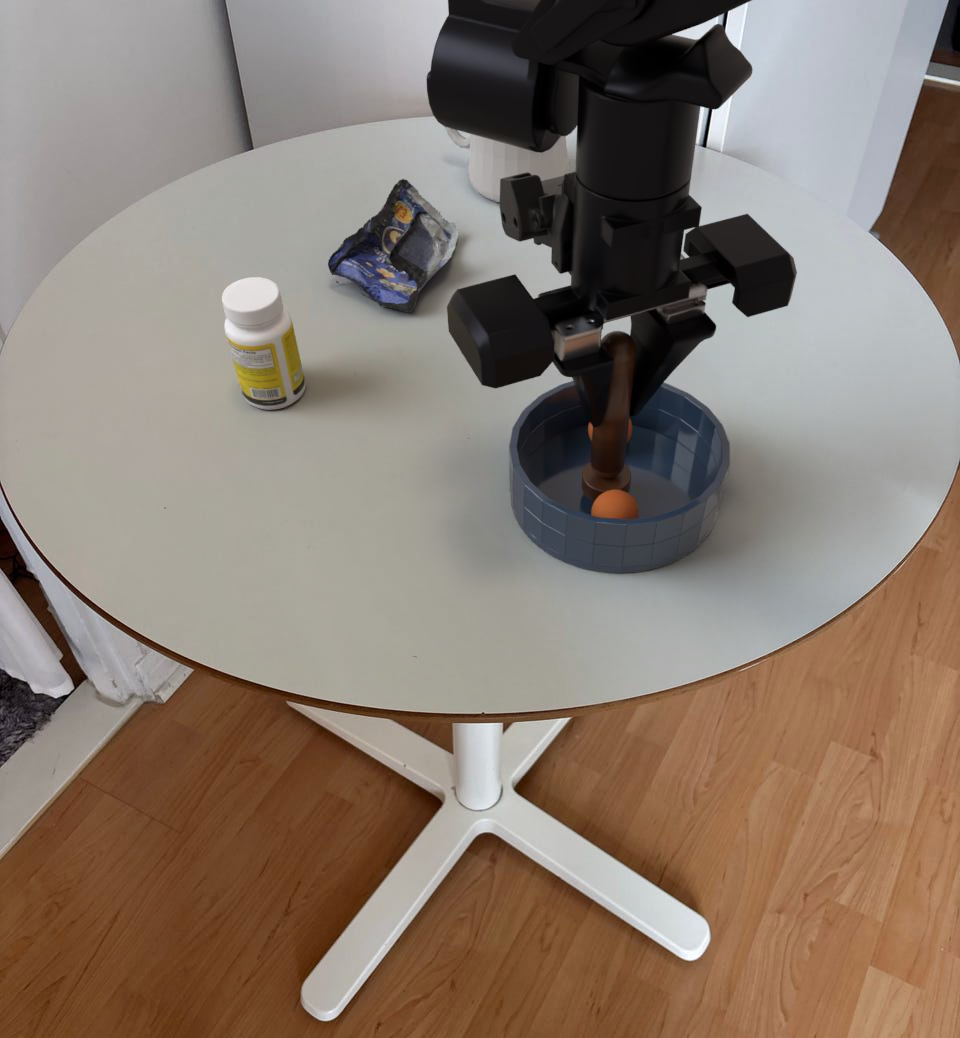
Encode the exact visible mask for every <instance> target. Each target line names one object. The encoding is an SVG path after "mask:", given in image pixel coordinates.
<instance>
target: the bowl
mask: <svg viewBox="0 0 960 1038" xmlns="http://www.w3.org/2000/svg"><path fill="white" fill-rule="evenodd" d="M629 418H630V420H631V423H632V435H631V437H630V440H629V441H628V443H627V446H626V456H625V464H626V465H627V467H628V468H629V470H630V472H631V483H630V490H629V493H628V494H630V495H631V496H632V497H633V498H634V500H635V501H636V503H637V506H638V511H639V515H638V518H636V519H615V518H603V517H596V516H592V515H591V510H592V506H593V504H594V501H592V500H590V499H589V498H587V497H586V496H585V494H584V493H583V491H582V487H581V484H582V471H583V469H584V467H585V466H586V465H587V464H588V463H589V462H591V446H592V442H591V440H590V437H589V434H588V426H589V420H588V418H587V416H586V414H585V411H584V408H583V405H582V403H581V400H580V397H579V395H578V392H577V389H576V387H575V384H574V381H573V380H571V381H568V382H564V383H561V384H559V385H557V386H555V387H553V388H551V389H549V390H547V391H545V392H543V393H541V394H540V395H539V396H537V397H536V398H535V399H534V400H533V401H531V402H530V404H528V405H527V406H526V407H525V408H524V409H523V410H522V411H521V413H520V415H519V417H518V418H517V419H516V422H515V423H514V424H513V426H512V430H511V435H510V438H509V439H510V441H509V444H508V461H509V462H508V463H509V465H508V467H509V469H508V470H509V473H508V475H509V480H508V481H509V494H510V504H511V508H512V509H511V510H512V513H513V516H514V518H515V521H516V522H517V524H518V526H519V527H520V528H521V530H522V531H523V533H524V534H525V536H527V537H528V538H529V540H530V541H531V542H532V543H533V544H535V545H536V546H537V547H538V548H539V549H540V550H542V551H543V552H545V553H546V554H548V555H550V556H551V557H553V558H555V559H557V560H559V561H561V562H562V563H563V562H564V563H566V564H568V565H571V566H574V567H576V568H581V569H584V570H588V571H594V572H601V573H609V574H628V573H630V574H631V573H639V572H645V571H646V572H647V571H651V570H656V569H658V568H662V567H664V566H667V565H669V564H672V563H675V562H677V561H679V560H680V559H682V558H685V557H686V556H687V555H689V554H690V553H692V552H693V551H694V550H696V549H697V548H698V547H699V546H700V545H701V544H702V543H703V542H704V541H705V540H706V538H707V537H708V536H709V534H710V533H711V531H712V529H713V528H714V526H715V524H716V522H717V518H718V515H719V512H720V509H721V505H722V501H723V497H724V492H725V488H726V482H727V479H728V473H729V470H730V465H731V443H730V441H729V438H728V435H727V432H726V430H725V428H724V425H723V424H722V422H721V421H720V419H718V417H717V416H716V415H715V414H714V412H713V411H712V410H711V409H710V407H708V406H707V405H706V404H704V403H703V402H701V400H699V399H697V398H696V397H695V396H693V395H692V394H691V393H689V392H687V391H685V390H682V389H680V388H678V387H676V386H673V385H671V384H669V383H667V382H664V383H663V384H662V385H661V386H660V387H659V389H658V390H657V391H656V392H655V394H654V395H653V396H652V397H651V399H650V400H649V401H648V402H647V404H646V405H645V406H644V407H643V409H642V410H641V411H640V412H639V414H638V415H636V416H633V417H631V416H629Z"/></svg>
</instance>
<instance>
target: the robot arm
mask: <svg viewBox="0 0 960 1038" xmlns="http://www.w3.org/2000/svg"><path fill="white" fill-rule="evenodd" d="M752 1H753V0H447V7H448V9H447V10H448V15H447V17H446V18H445V21H444V22H443V24H442V27H441V28H440V30H439V33H438V35H437V37H436V41H435V44H434V48H433V52H432V56H431V57H432V58H431V62H430V63H431V64H430V71H428V72H427V74H426V94H427V99H428V105H429V107H430V110H431V113H432V115H433V116H434V118H435V120H436V121H437V123H439V124H440V125H442V126H443V127H444V126H445V127H448V128H452V129H455V130H457V131H458V132H462V133H467V134H469V135H471V134H473V135H477V136H480V137H484V138H487V139H491V140H494V141H498V142H502V143H505V144H509V145H512V146H516V147H519V148H523V149H526V150H530V151H534V152H540V153H543V152H545V151H547V150H549V149H550V148H552V147H553V146H554V145H555V143H556V142H557V141H558V140H559V138H560V137H561V136H566V137H567V136H569V135H570V134H572V132H574V131H575V130H576V145H575V146H576V149H575V169H574V171H573V172H568V174H564V176H560V177H556V178H552V179H548V180H544V181H541V179H540V177H539V176H538V175H531V174H530V173H528V172H526V173H522V174H518V175H514V176H510V177H505V178H501V179H500V202H499V213H500V219H501V226H502V231H503V232H504V235H505V236H507V237H509V238H511V239H513V240H515V241H516V242H519V243H521V242H524V241H528V240H532V239H533V243H534V244H535V245H536V246H541V245H543V246H546V247H548V248H551V256H550V257H551V258H550V259H551V264H552V266H553V267H554V268H555V270H556V271H557V273H559V274H561V275H562V274H566V273H569V275H570V285H567V286H562V287H559V288H555V289H552V290H548V291H544V292H540V293H539V294H538V295H537V297H535V298H533V297H532V295H531V293H530V292H529V291H528V290H527V288H526V286H525V285H524V284H523V283H522V281H521V280H520V278H519V277H518V276H517V274H516V273H515V274H511V275H507V276H503V277H500V278H499V277H498V278H495V279H491V280H488V281H487V280H486V281H483V282H480V283H476V284H472V285H469V286H465V287H461V288H457V289H456V290H455V291H454V293H453V294H452V296H451V297H450V300H449V302H448V303H447V305H446V310H447V311H446V313H447V326H448V327H447V328H448V333H449V334H450V336H451V338H452V339H453V341H454V343H455V344H456V346H457V348H458V349H459V351H460V352H461V354H462V356H463V357H464V358H465V361H466V362H467V364H468V366H469V367H470V368H471V371H472V372H473V373H474V375H475V377H476V378H477V380H478V381H479V383H480V384H481V386H484V387H488V388H492V389H499V388H503V387H506V386H510V385H513V384H517V383H520V382H523V381H527V380H531V379H534V378H537V377H538V378H539V377H541V376H542V375H543V374H544V372H545V371H546V370H547V369H548V368H549V366H550V365H551V364H553V365H554V366H555V368H556V369H557V370H558V372H559V373H560V375H562V377H563V376H564V377H566V378H571V379H572V381H574V384H575V387H576V389H577V392H578V395H579V397H580V400H581V403H582V405H583V408H584V411H585V414H586V416H587V418H588V420H589V422H590V423H591V424H592V426H593V427H594V428H596V427H599V426H600V425H601V422H602V419H603V417H604V414H605V410H606V404H607V398H608V393H609V387H610V382H611V377H612V371H613V365H614V359H613V357H612V356H611V355H610V353H609V352H608V351H607V349H606V348H605V347H604V346H603V344H602V343H601V339H602V332H603V329H604V325H605V324H607V323H610V322H614V321H618V320H621V319H625V318H629V317H630V333H629V335H630V336H631V337H632V339H633V340H634V342H635V345H636V357H635V367H634V377H633V386H632V396H631V406H630V416H631V417H633V416H636V415H638V414H639V412H640V411H641V410H642V409H643V407H644V406H645V405H646V404H647V402H648V401H649V400H650V399H651V397H652V396H653V395H654V394H655V392H656V391H657V390H658V389H659V387H660V386H661V385H662V384H663V383H665V381H667V379H668V378H669V376H671V374H672V373H673V372H674V371H675V370H676V369H677V368H678V367H679V366H680V365H681V363H683V362H684V361H685V359H686V358H687V357H689V356H690V354H691V353H692V352H693V351H694V350H695V349H696V348H697V347H698V346H699V344H701V343H702V342H704V341H705V340H708V339H711V338H713V337H714V336H715V335H716V331H717V324H716V323H715V322H714V321H713V319H712V318H711V317H710V316H709V315H708V314H707V313H706V312H705V310H706V304H707V303H706V300H707V295H708V290H712V289H715V288H718V287H723V286H727V285H731V286H732V287H733V288H734V290H733V295H732V300H731V304H732V305H733V306H734V307H735V308H736V309H737V310H738V311H739V312H741V314H743V315H744V316H745V317H746V318H750V317H754V316H757V315H761V314H764V313H768V312H773V311H775V310H778V309H782V308H785V307H788V306H789V304H790V301H791V299H792V296H793V291H794V288H795V284H796V279H797V274H798V271H797V267H796V262H795V259H794V257H793V256H792V255H791V253H790V252H789V251H788V250H786V249H785V247H783V246H782V245H781V244H780V243H779V242H778V241H777V240H776V239H775V238H774V237H773V236H772V235H770V234H769V233H768V231H766V229H764V227H762V226H761V225H760V224H759V223H758V222H757V221H756V220H755V219H754V218H753V217H752V216H751V215H750V214H748V213H745V214H741V215H737V216H733V217H730V218H725V219H721V220H718V221H714V222H709V223H706V224H703V225H700V222H701V215H702V209H703V207H702V206H701V205H700V203H698V202H697V200H696V199H694V198H693V197H692V196H691V195H690V189H691V183H692V174H693V166H694V158H695V151H696V143H697V137H698V130H699V129H698V128H699V121H700V113H701V108H705V109H708V110H718V109H720V108H721V107H722V106H723V105H724V104H725V103H726V102H727V101H728V100H729V99H730V98H731V97H732V96H733V95H734V94H735V93H736V92H737V91H738V90H739V89H740V88H741V87H742V86H743V85H744V84H745V83H746V82H747V81H748V80H749V79H750V78H751V77H752V75H753V70H754V69H753V65H752V64H751V62H750V61H749V60H748V58H747V57H746V56H744V54H743V53H742V51H741V50H740V49H739V48H737V47H736V46H735V45H734V44H733V43H732V42H731V40H730V39H729V36H728V35H727V33H726V30H725V27H724V25H722V24H721V23H716V24H714V25H713V26H712V27H710V29H708V30H707V31H706V32H705V33H704V34H703V35H702V36H700V38H696V39H694V38H689V37H685V36H680V35H676V34H677V33H680V32H683V31H686V30H689V29H691V28H694V27H698V26H699V25H703V24H705V23H706V22H709V21H711V20H713V19H716V18H718V17H720V16H722V15H724V14H726V13H728V12H730V11H733V10H735V9H736V8H739V7H741V6H743V5H745V4H747V3H749V2H752ZM445 127H444V128H445ZM690 229H691V230H690ZM686 230H689V231H688V232H686V233H685V231H686ZM684 235H685V236H684ZM683 242H684V243H683ZM682 248H683V249H682ZM682 250H683V252H684V254H685V255H687V257H685V256H684V255H683V254H682Z"/></svg>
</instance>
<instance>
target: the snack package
mask: <svg viewBox="0 0 960 1038" xmlns="http://www.w3.org/2000/svg"><path fill="white" fill-rule="evenodd" d="M459 233H460V232H459V228H458V226H457V225H456V223H455V222H450V221H448V220H447V219H446V218H445V217H443V215H442V214H441V211H439V210H438V209H437V208H436V207H435V206H433V205H432V204H431V203H430V201H427V200H426V199H425V198H424V197H423V196H422V195H421V194H420V192H419V190H418V189H417V188H416V187H415V186H414V185H412V184H411V182H410V181H408V179H404V178H402V179H399V180H398V181H397V182H396V183H395V184H394V185H393V187H392V189H391V191H390V193H389V194H388V196H387V198H386V201H385V203H384V205H383V206H382V207H381V208H380V211H378V212H377V214H375V215H373V216H372V217H371V218H370V219H368V220H367V221H366V222H365V223H364V224H363V226H362V227H359V229H357V231H356V232H355V233H353V234H351V235H349V236H348V237H346V238H345V239H343V241H342V244H340V246H339V247H338V248H337V249H336V250H335V251H334V252H333V253H332V254H331V256H330V257H329V259H328V262H327V266H328V270H329V272H330V274H331V275H332V276H337V277H340V278H343V279H344V278H345V279H346V280H348V281H350V282H352V283H354V284H355V285H357V286H358V287H359V288H360V289H361V290H363V292H365V293H366V294H367V295H368V296H367V299H369V298H370V300H371V301H374V302H377V304H378V305H379V307H384V308H386V309H387V308H388V309H395V310H399V311H401V312H404V313H408V314H409V313H412V311H413V310H414V308H415V307H416V304H417V302H418V299H419V294H420V292H421V290H422V289H423V288H424V287H425V285H426V284H427V282H428V281H430V280H431V279H432V277H433V276H434V275H435V274H436V273H437V272H438V271H440V269H442V267H444V266H445V265H446V264H447V263H448V261H449V260H450V258H452V257H453V253H454V251H455V249H456V244H457V241H458V238H459ZM335 283H336V284H340V282H339V281H337V280H335ZM360 294H361V295H363V296H364V297H366V295H365V294H363V293H360Z"/></svg>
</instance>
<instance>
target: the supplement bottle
mask: <svg viewBox="0 0 960 1038" xmlns="http://www.w3.org/2000/svg"><path fill="white" fill-rule="evenodd" d="M221 301H222V306H223V311H224V315H225V320H224V334H225V337H226V340H227V344H228V349H229V351H230V355H231V358H232V362H233V365H234V368H235V373H236V375H237V379H238V384H239V386H240V390H241V393H242V396H243V398H244V400H245V401H246V402H247V403H248V404H249V405H251V406H253V407H255V408H257V409H260V410H268V411H269V410H270V411H271V410H280V409H284V408H286V407H289V406H290V405H292V404H294V403H295V402H297V400H299V399H300V398H301V397H302V396H303V394H304V393H305V390H306V378H305V374H304V369H303V365H302V359H301V356H300V352H299V351H300V350H299V346H298V341H297V337H296V333H295V332H296V331H295V328H294V323H293V319H292V316H291V313H290V311H289V310H288V309H287V307H285V306H284V303H283V299H282V294H281V291H280V288H279V286H278V285H277V283H276V282H274V281H273V280H271V279H269V278H265V277H259V276H257V277H256V276H252V277H245V278H241V279H239V280H236V281H234V282H232V283H230V284H229V285H228V286H227V287H226V288H225V289H224V291H223V292H222V294H221Z"/></svg>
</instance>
